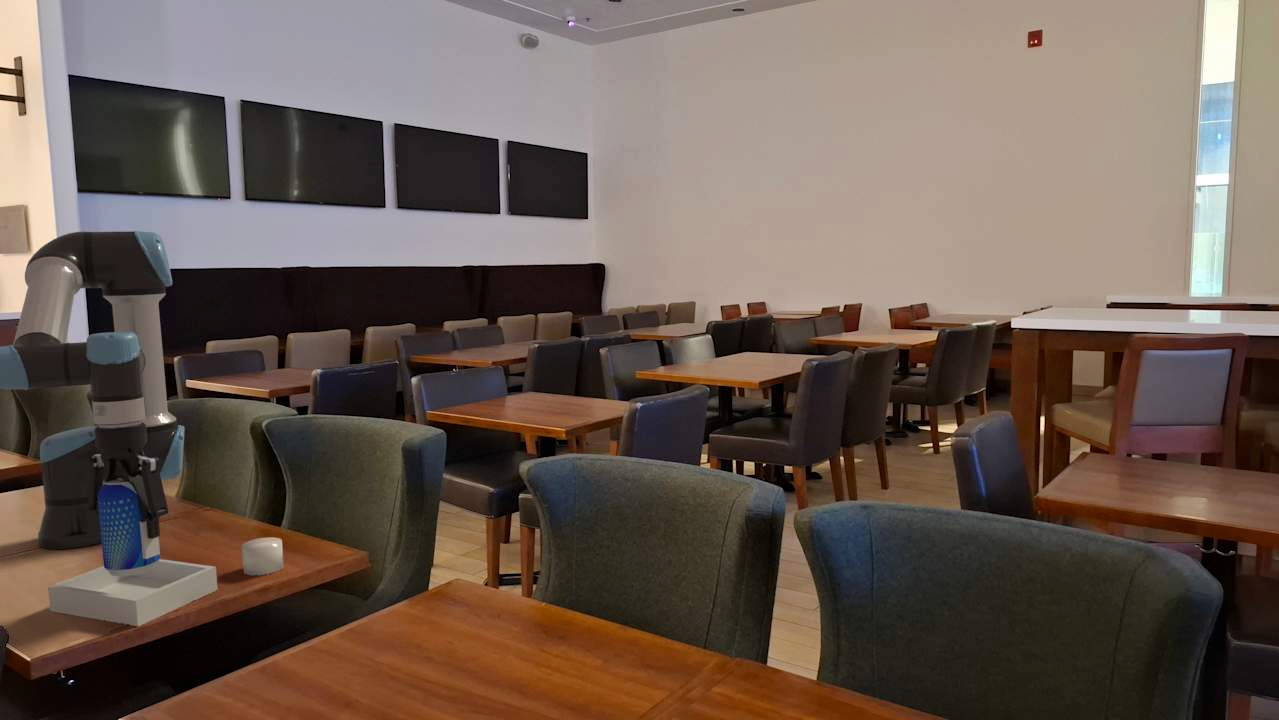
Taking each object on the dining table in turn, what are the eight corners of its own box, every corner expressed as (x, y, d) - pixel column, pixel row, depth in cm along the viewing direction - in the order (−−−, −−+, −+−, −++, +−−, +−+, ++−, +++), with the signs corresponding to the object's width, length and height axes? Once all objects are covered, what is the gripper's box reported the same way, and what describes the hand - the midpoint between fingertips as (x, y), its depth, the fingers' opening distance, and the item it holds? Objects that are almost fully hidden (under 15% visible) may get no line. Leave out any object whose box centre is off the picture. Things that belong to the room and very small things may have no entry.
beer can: (92, 576, 146) (83, 484, 144) (130, 560, 154) (122, 472, 152) (136, 579, 144) (128, 485, 142) (172, 561, 152) (164, 473, 151)
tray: (50, 611, 146) (47, 586, 145) (134, 577, 161) (132, 555, 160) (138, 626, 139) (135, 600, 138) (217, 590, 154) (215, 566, 153)
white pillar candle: (235, 573, 162) (233, 547, 162) (263, 560, 169) (261, 535, 168) (264, 577, 160) (262, 551, 159) (291, 564, 166) (290, 539, 166)
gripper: (54, 425, 146) (67, 554, 149) (147, 430, 139) (159, 567, 142) (95, 417, 153) (107, 541, 156) (186, 422, 146) (196, 552, 149)
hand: (131, 553), depth 149 cm, fingers closed on beer can, 8 cm apart
